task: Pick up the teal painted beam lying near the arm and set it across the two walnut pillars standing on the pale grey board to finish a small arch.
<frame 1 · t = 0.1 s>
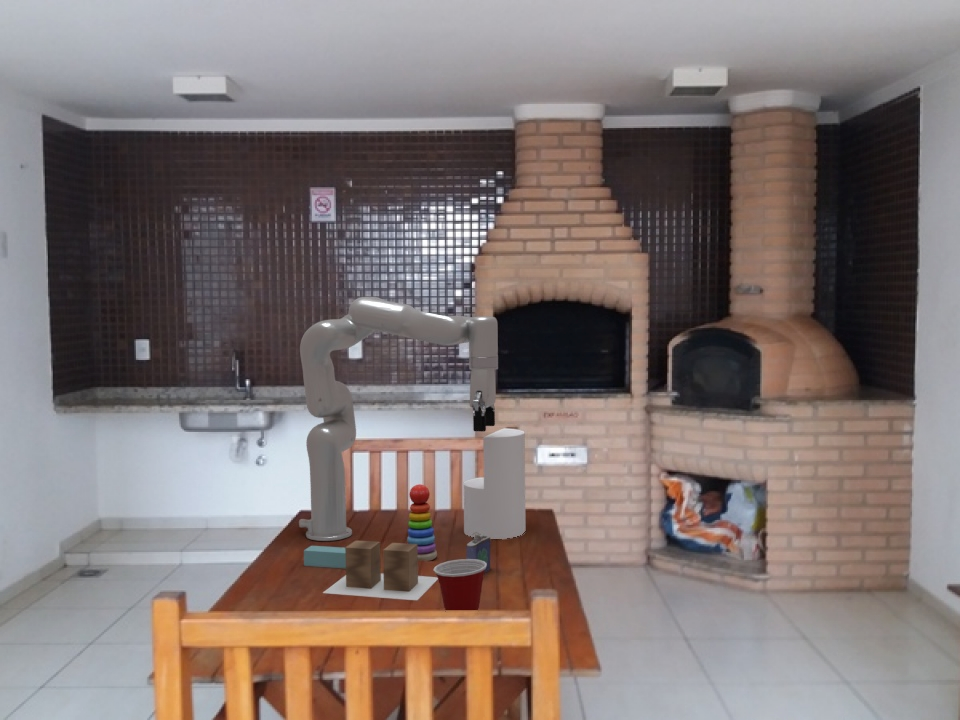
hand: (484, 428, 234), 31 cm above the table, tool pointing down, fingers open, 9 cm apart
stacking toy: (421, 558, 225), on the table
board: (382, 589, 202), on the table
plastic cup: (460, 623, 180), on the table
flask: (478, 578, 209), on the table
beam: (338, 570, 217), on the table
cylinder: (494, 532, 250), on the table
pillar left: (363, 583, 203), point 1 cm above the table, touching board
pillar right: (401, 586, 200), point 1 cm above the table, touching board
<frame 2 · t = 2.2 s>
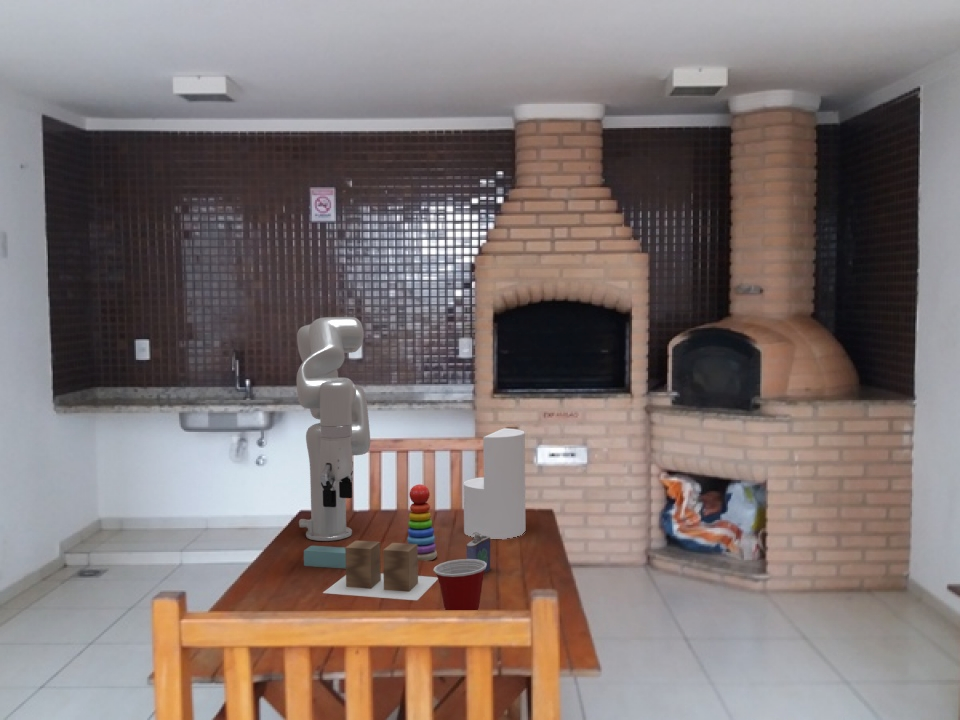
hand: (338, 502, 216), 16 cm above the table, tool pointing down, fingers open, 9 cm apart
nothing on the table moved.
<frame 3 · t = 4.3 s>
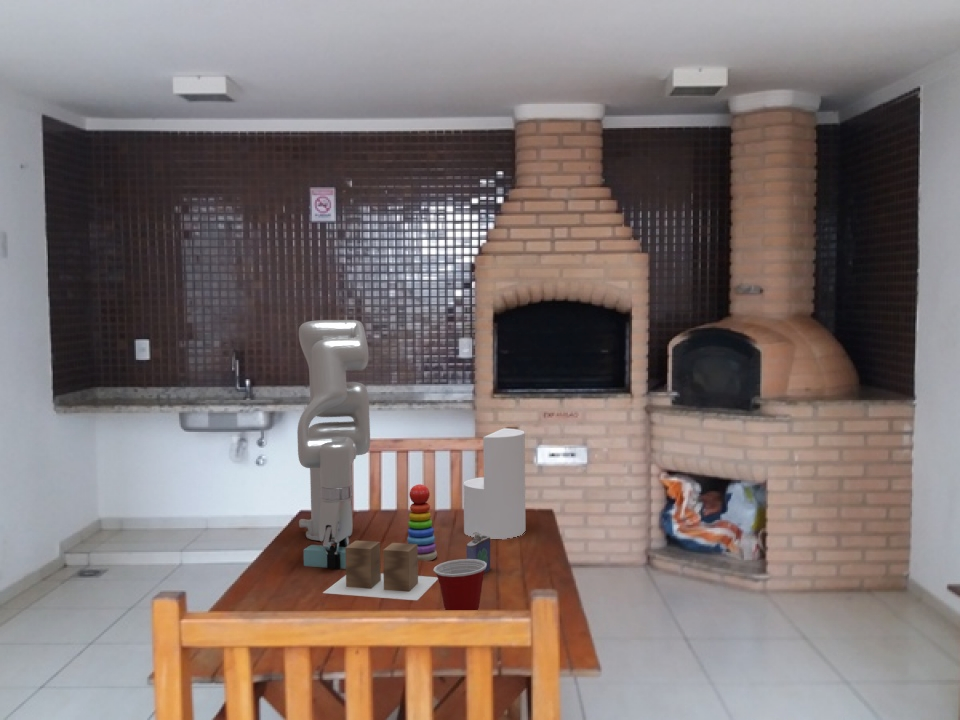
hand: (338, 566, 217), 1 cm above the table, tool pointing down, fingers closed on beam, 4 cm apart
beam: (338, 569, 217), on the table, touching gripper
everything else where it was.
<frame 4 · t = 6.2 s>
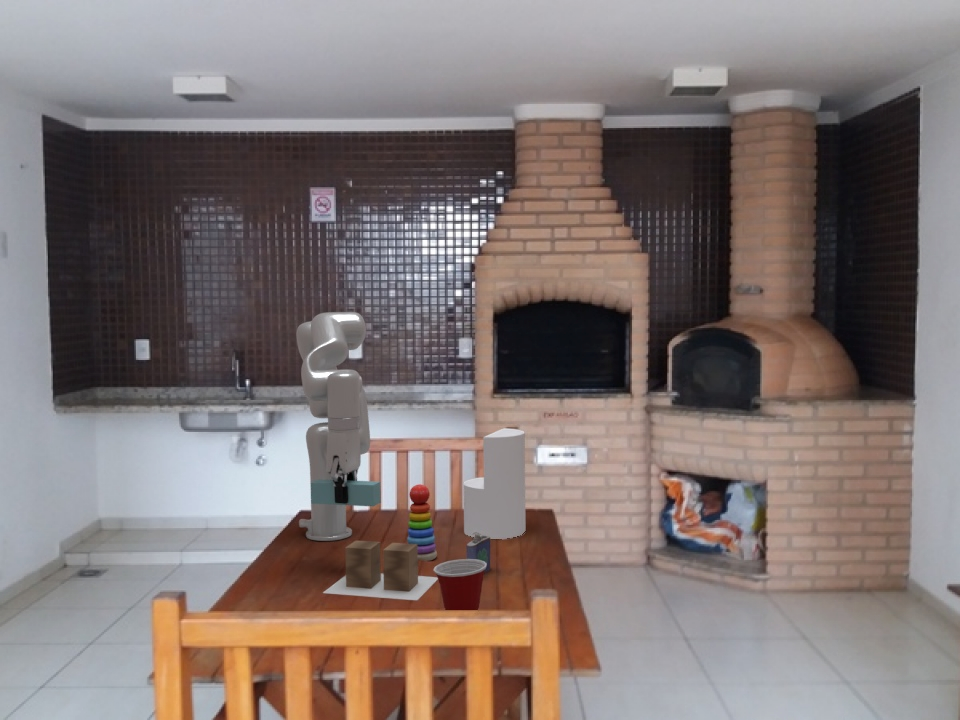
hand: (346, 500, 212), 18 cm above the table, tool pointing down, fingers closed on beam, 4 cm apart
beam: (345, 503, 212), point 17 cm above the table, touching gripper
everything else where it was.
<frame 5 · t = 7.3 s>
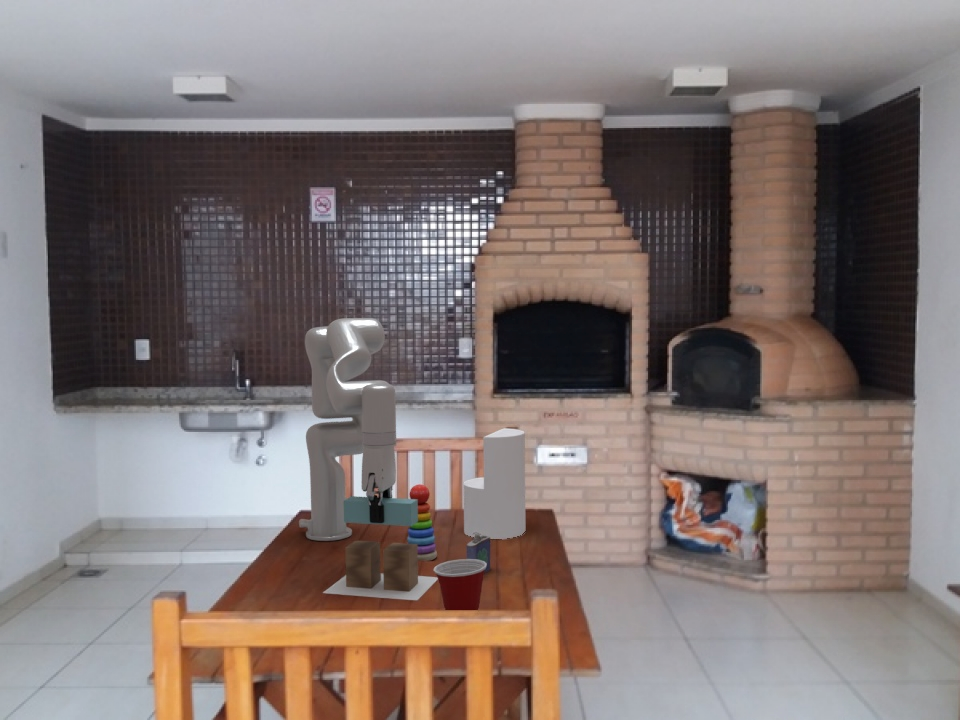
hand: (381, 519, 200), 16 cm above the table, tool pointing down, fingers closed on beam, 4 cm apart
beam: (380, 521, 200), point 16 cm above the table, touching gripper
everything else where it was.
when the fingers open (12 cm above the table, at t = 8.3 s): beam drops 1 cm, resting on pillar left, pillar right.
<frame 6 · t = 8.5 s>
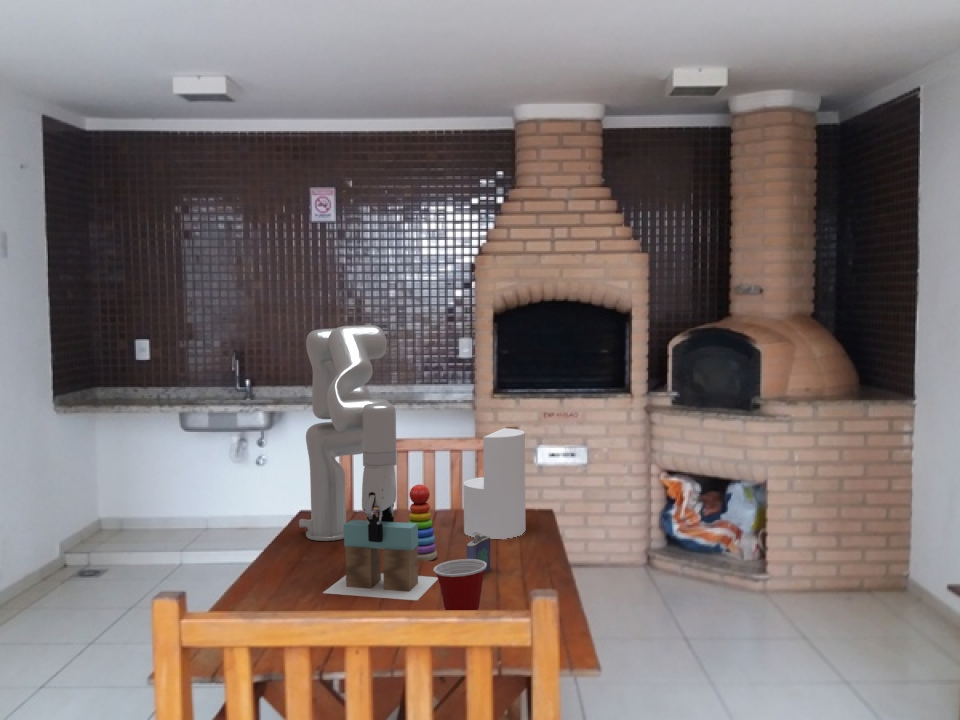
hand: (381, 536, 201), 12 cm above the table, tool pointing down, fingers open, 6 cm apart
beam: (381, 545, 201), point 10 cm above the table, touching pillar left, pillar right
pillar left: (363, 583, 203), point 1 cm above the table, touching beam, board
pillar right: (401, 586, 200), point 1 cm above the table, touching beam, board
everything else where it was.
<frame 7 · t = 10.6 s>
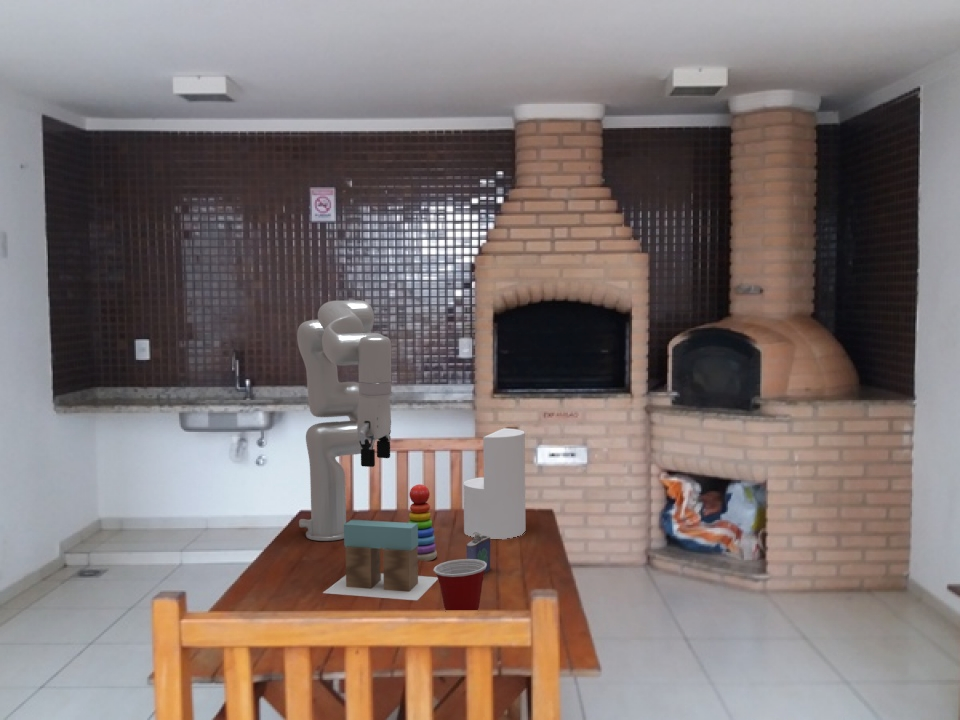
hand: (375, 461, 208), 28 cm above the table, tool pointing down, fingers open, 9 cm apart
nothing on the table moved.
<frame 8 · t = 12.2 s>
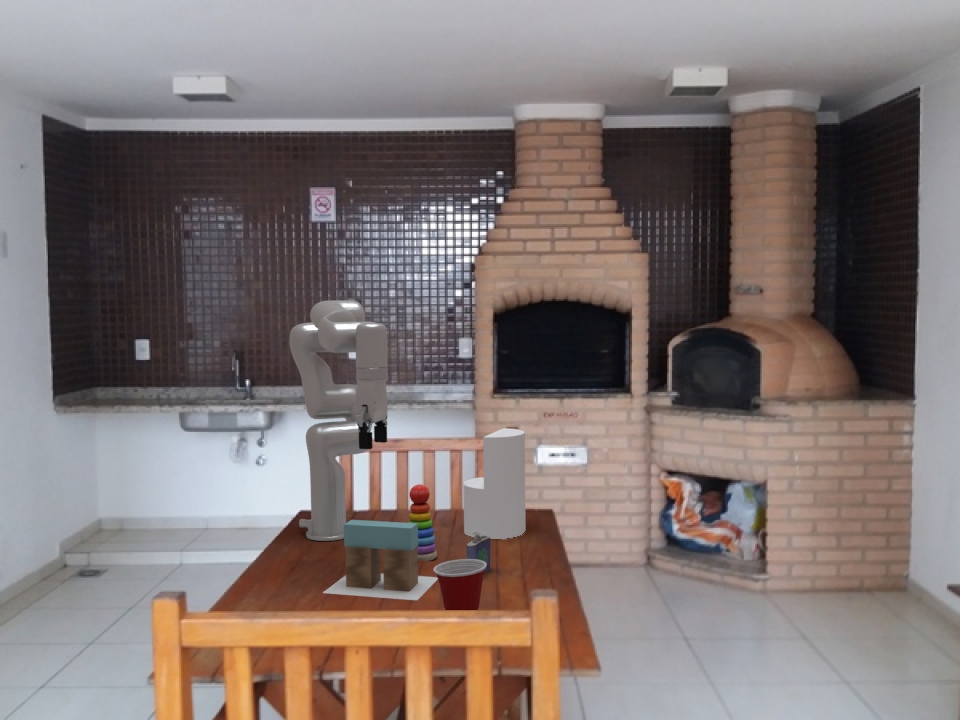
hand: (373, 445, 215), 30 cm above the table, tool pointing down, fingers open, 9 cm apart
nothing on the table moved.
at the end: beam inside the target area (0.1 cm from its centre), point 10.0 cm above the table; beam tilted 0°; beam touching pillar left, pillar right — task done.
